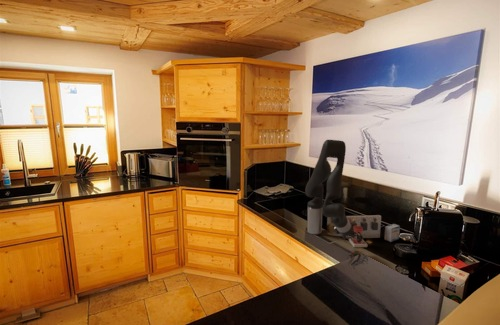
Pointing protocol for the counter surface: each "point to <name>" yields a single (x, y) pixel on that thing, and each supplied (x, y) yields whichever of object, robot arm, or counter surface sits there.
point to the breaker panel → (366, 225)
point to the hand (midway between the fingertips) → (351, 238)
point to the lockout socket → (363, 244)
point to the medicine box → (392, 232)
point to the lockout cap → (357, 229)
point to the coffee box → (331, 227)
